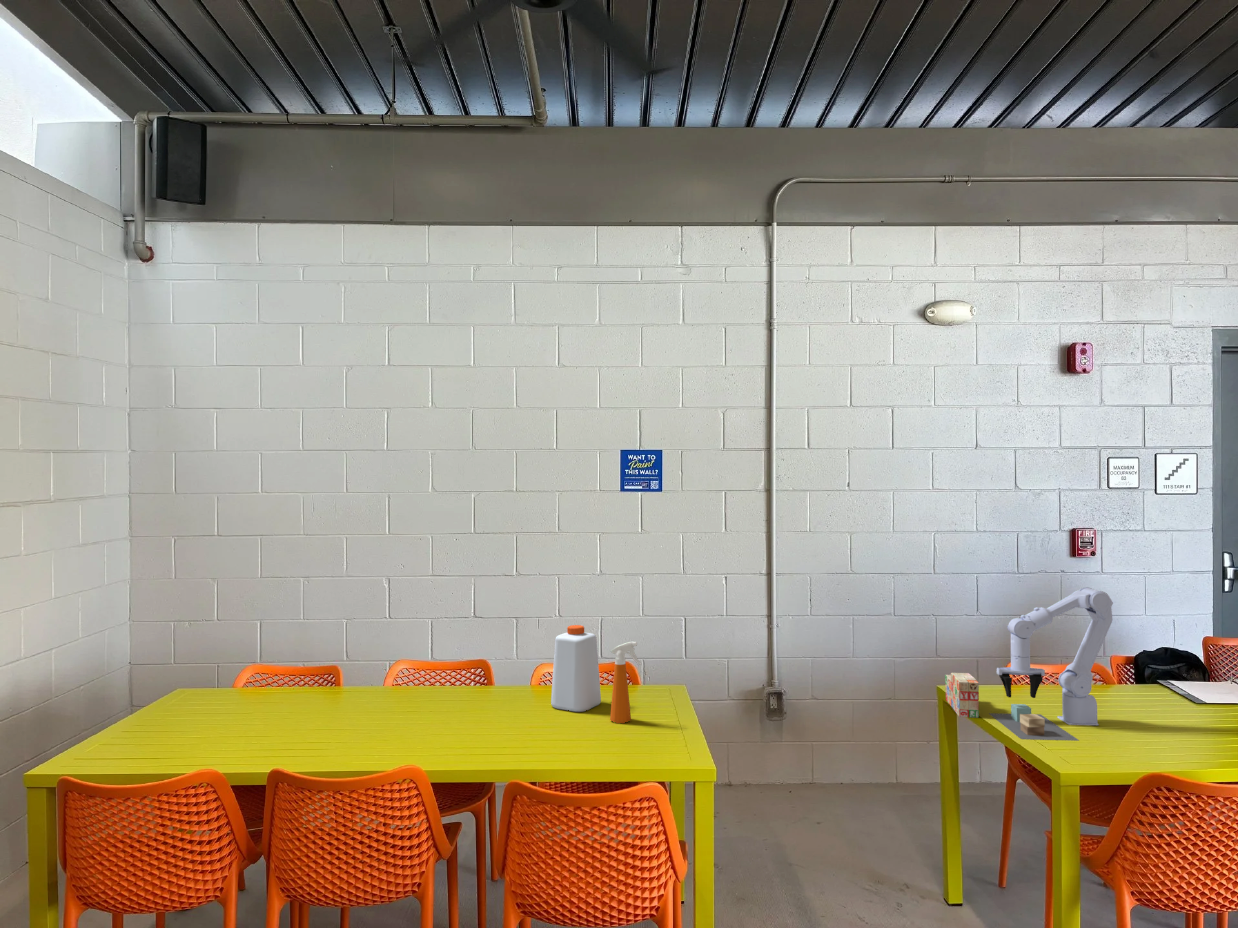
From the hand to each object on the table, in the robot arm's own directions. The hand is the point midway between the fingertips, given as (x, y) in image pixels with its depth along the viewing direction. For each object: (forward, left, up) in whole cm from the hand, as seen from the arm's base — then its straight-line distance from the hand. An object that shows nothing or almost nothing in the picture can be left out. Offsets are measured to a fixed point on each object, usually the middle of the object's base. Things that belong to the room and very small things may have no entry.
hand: (1020, 696), depth 258 cm
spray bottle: (+130, +9, -8) cm, 130 cm away
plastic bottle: (+149, -7, -8) cm, 149 cm away
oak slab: (+2, +13, -5) cm, 14 cm away
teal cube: (0, 0, -8) cm, 8 cm away
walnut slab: (+2, +13, -8) cm, 15 cm away
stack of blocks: (+15, -12, -8) cm, 21 cm away
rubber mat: (-1, +6, -8) cm, 10 cm away
